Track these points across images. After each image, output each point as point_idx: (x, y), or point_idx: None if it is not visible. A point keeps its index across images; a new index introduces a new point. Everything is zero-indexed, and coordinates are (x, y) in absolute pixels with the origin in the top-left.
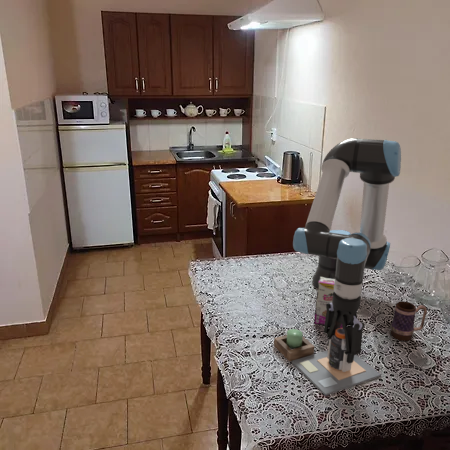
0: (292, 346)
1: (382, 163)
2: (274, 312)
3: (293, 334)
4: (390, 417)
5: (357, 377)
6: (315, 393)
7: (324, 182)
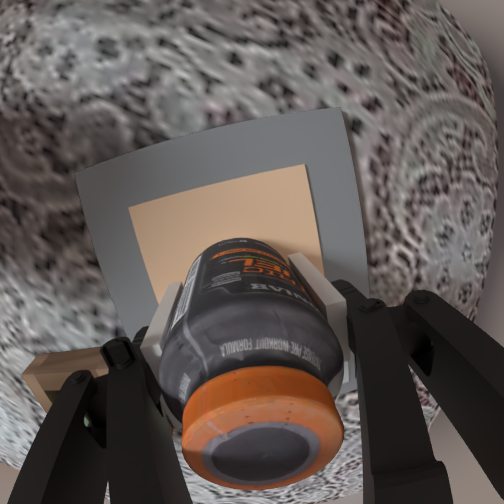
0: None
1: None
2: None
3: None
4: (489, 223)
5: (336, 232)
6: (347, 400)
7: None
